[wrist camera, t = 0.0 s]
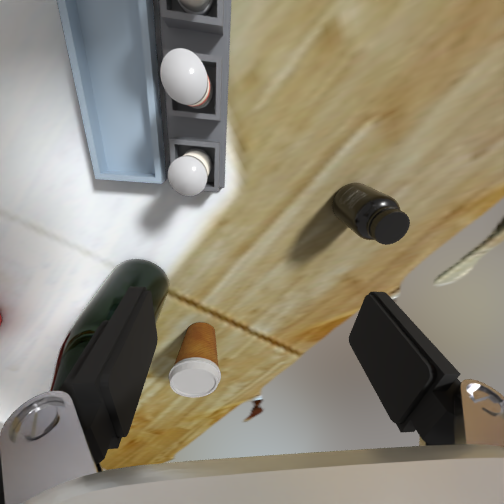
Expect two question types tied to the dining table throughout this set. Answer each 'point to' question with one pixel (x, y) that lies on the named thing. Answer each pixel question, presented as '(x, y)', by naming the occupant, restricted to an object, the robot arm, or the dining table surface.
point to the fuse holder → (217, 67)
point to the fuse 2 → (190, 172)
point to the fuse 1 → (196, 6)
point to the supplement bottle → (370, 213)
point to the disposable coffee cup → (196, 363)
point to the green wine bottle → (108, 309)
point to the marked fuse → (186, 78)
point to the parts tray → (117, 86)
